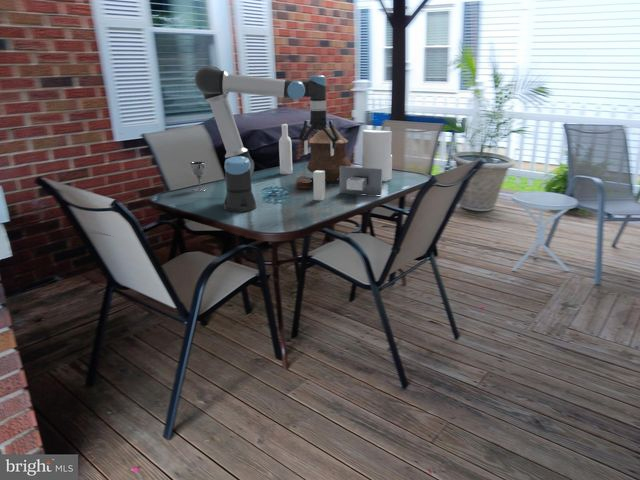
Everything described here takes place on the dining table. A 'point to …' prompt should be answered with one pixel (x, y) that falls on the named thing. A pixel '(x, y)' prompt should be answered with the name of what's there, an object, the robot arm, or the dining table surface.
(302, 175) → the dining table surface
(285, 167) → the bottle
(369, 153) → the cylinder
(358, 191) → the grey block
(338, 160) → the pottery vessel
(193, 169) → the wine glass
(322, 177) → the rail post
